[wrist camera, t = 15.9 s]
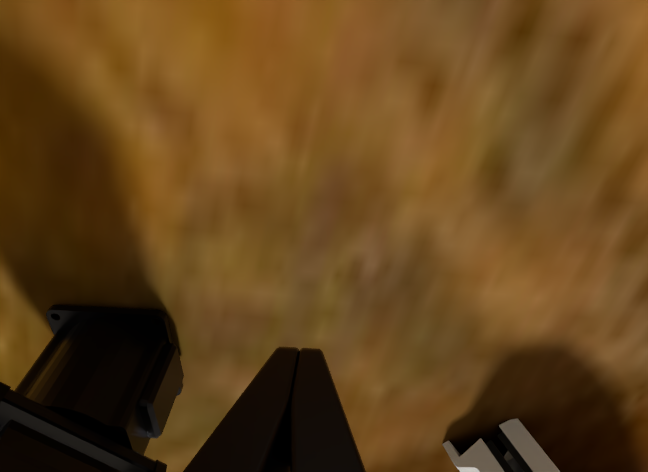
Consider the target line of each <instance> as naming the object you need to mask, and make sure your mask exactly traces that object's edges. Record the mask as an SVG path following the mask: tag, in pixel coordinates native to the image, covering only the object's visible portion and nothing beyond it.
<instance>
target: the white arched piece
mask: <svg viewBox="0 0 648 472" xmlns="http://www.w3.org/2000/svg"><path fill="white" fill-rule="evenodd" d="M499 427H500V428H501V430H502V431H503V432H501V433H500V434H499V435H497V436H498V437H499V439H500V440H501V441H502V443H503V444H504V445H505V447H506V448H507V452H506V454H505V456H504V457H503V455H502V454H501V453H500V451H499V450H498V449H497V447H496V446H495V445H494V443H493V442H492V441H491V440H490V441H489V442H487V443H486V444H485V443H484V441H483V440H482V439H481V438H480V439H479V440H478V441H477V442H476V443H475V444H473V445H472V446H471V447H470V448H469V449H468V450H467V451H466V452H465V453H464V454H462V455H461V454H460V453H459V452H458V451H457V450H456V448H455V447H454V446H453V445H452V444H451V442H450V441H447V442H445V443H443V446H444V448H445V449H446V451H447V453H448V455H449V456H450V458H451V460H452V461H453V463H454V465H455V466H456V467H457V468H458V469H459V471H460V472H560V471H559V469H558V468H557V467H556V466H555V464H554V463H553V462H552V461H551V459H550V458H549V457H548V456H547V454H546V453H545V452H544V451H543V449H542V448H541V447H540V446H539V444H538V443H537V442H536V441H535V439H534V438H533V437H532V436H531V435H530V433H529V432H528V431H527V430H526V428H525V427H524V426H523V425H522V423H521V422H520V421H519V420H518V419H511V420H508V421H506V422H504V423H502V424H500V425H499Z"/></svg>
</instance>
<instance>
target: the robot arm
mask: <svg viewBox="0 0 648 472" xmlns="http://www.w3.org/2000/svg"><path fill="white" fill-rule="evenodd" d="M46 316H47V319H48V321H49V324H50V326H51V329H52V331H53V333H54V336H53V338H52V339H51V341H50V342H49V343H48V345H47V346H46V348H45V349H44V350H43V352H42V353H41V354H40V356H39V357H38V359H37V360H36V361H35V363H34V364H33V366H32V367H31V368H30V370H29V371H28V373H27V374H26V375H25V377H24V378H23V379H22V381H21V382H20V384H19V385H18V386H17V388H16V389H15V391H13V390H11V389H10V388H11V387H10V386H8V385H6V384H4V383H2V382H0V472H166V468H167V465H166V464H165V463H163V462H161V461H159V460H156V461H154V460H152V459H150V458H148V457H146V456H144V453H145V450H146V448H147V445H148V443H149V440H150V438H158V437H159V436H160V435H161V434H162V432H163V429H164V427H165V424H166V422H167V419H168V416H169V414H170V411H171V408H172V406H173V403H174V401H175V398H176V396H177V395H179V394H180V393H181V391H182V388H183V384H182V380H183V377H184V375H183V370H182V366H181V361H180V357H179V352H178V348H177V346H176V345H175V344H174V343H173V339H172V335H171V331H170V326H169V322H168V317H167V315H166V314H165V313H164V312H162V311H160V310H149V309H129V308H109V307H89V306H68V305H53V306H51V307H50V309H49V310H48V311H47V313H46ZM156 319H158V320H156ZM183 472H366V471H365V468H364V465H363V463H362V460H361V457H360V454H359V452H358V449H357V446H356V443H355V440H354V438H353V435H352V432H351V429H350V427H349V424H348V421H347V418H346V415H345V413H344V410H343V407H342V404H341V402H340V399H339V396H338V393H337V391H336V388H335V385H334V382H333V379H332V377H331V374H330V371H329V368H328V366H327V363H326V360H325V357H324V354H323V352H322V351H321V350H320V349H312V348H302V349H301V350H300V351H299V349H298V348H294V347H279V348H277V349H276V350H275V351H274V352H273V354H272V355H271V356H270V358H269V359H268V360H267V362H266V363H265V364H264V366H263V367H262V368H261V370H260V371H259V372H258V374H257V375H256V376H255V377H254V379H253V380H252V381H251V383H250V384H249V385H248V387H247V388H246V389H245V391H244V392H243V393H242V395H241V396H240V397H239V399H238V400H237V401H236V403H235V404H234V405H233V407H232V408H231V409H230V410H229V412H228V413H227V414H226V416H225V417H224V418H223V420H222V421H221V422H220V424H219V425H218V426H217V428H216V429H215V430H214V432H213V433H212V434H211V436H210V437H209V438H208V439H207V441H206V442H205V443H204V445H203V446H202V447H201V449H200V450H199V451H198V453H197V454H196V455H195V457H194V458H193V459H192V461H191V462H190V463H189V465H188V466H187V467H186V468H185V470H184V471H183Z"/></svg>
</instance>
